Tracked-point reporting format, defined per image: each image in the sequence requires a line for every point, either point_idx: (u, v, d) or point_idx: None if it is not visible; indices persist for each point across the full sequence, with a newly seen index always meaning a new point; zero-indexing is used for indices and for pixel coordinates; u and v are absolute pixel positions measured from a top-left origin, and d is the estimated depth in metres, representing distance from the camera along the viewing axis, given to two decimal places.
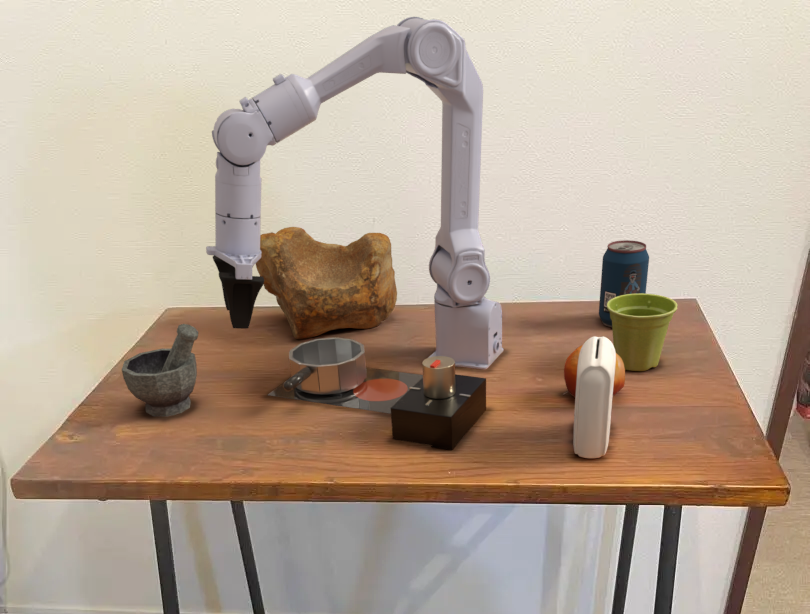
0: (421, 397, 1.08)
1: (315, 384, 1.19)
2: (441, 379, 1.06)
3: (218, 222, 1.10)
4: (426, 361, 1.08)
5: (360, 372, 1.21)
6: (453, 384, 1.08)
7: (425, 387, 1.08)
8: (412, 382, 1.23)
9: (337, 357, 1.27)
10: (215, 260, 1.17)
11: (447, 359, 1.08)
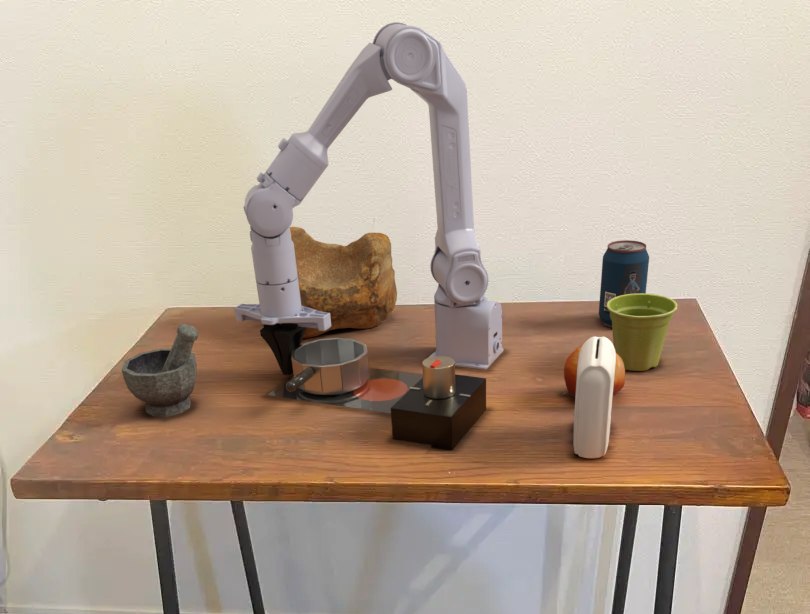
0: (421, 397, 1.08)
1: (318, 385, 1.19)
2: (441, 379, 1.06)
3: (275, 292, 1.17)
4: (426, 361, 1.08)
5: (362, 373, 1.21)
6: (453, 384, 1.08)
7: (425, 387, 1.08)
8: (412, 382, 1.23)
9: (340, 357, 1.27)
10: (272, 333, 1.21)
11: (447, 359, 1.08)
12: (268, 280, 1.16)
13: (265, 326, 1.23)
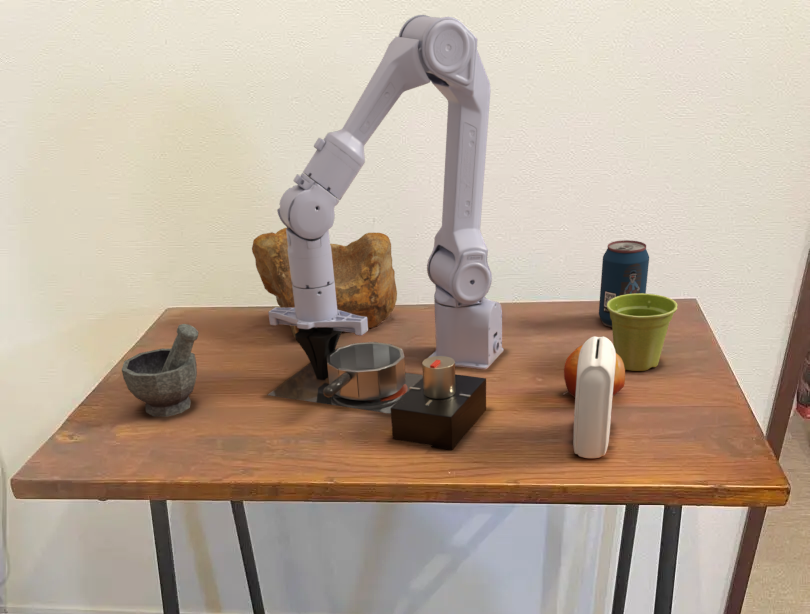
0: (421, 397, 1.08)
1: (354, 390, 1.17)
2: (441, 379, 1.06)
3: (312, 295, 1.15)
4: (426, 361, 1.08)
5: (399, 378, 1.18)
6: (453, 384, 1.08)
7: (425, 387, 1.08)
8: (412, 382, 1.23)
9: (374, 362, 1.25)
10: (308, 338, 1.19)
11: (447, 359, 1.08)
12: (308, 283, 1.14)
13: (300, 330, 1.20)
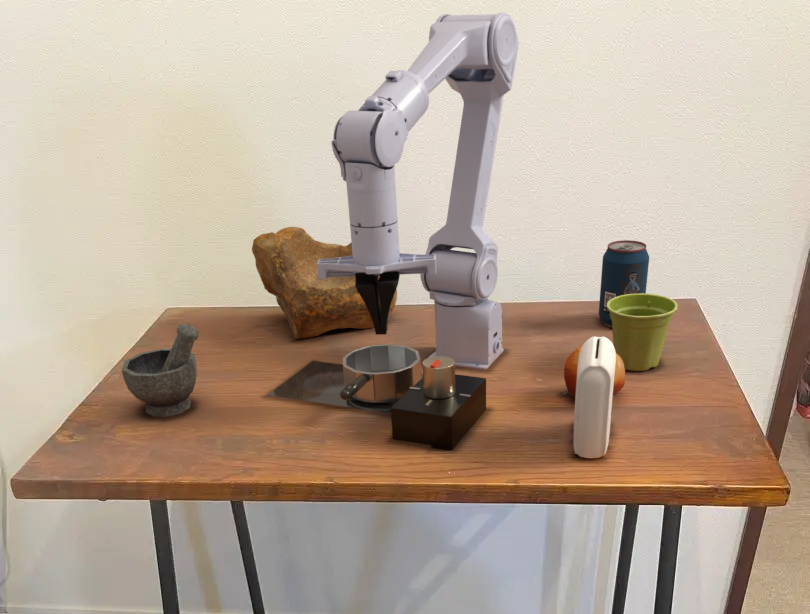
0: (421, 397, 1.08)
1: (370, 393, 1.16)
2: (441, 379, 1.06)
3: (382, 234, 1.02)
4: (426, 361, 1.08)
5: (415, 380, 1.17)
6: (453, 384, 1.08)
7: (425, 387, 1.08)
8: None
9: (389, 364, 1.24)
10: (373, 286, 1.06)
11: (447, 359, 1.08)
12: (385, 220, 1.02)
13: (358, 279, 1.07)
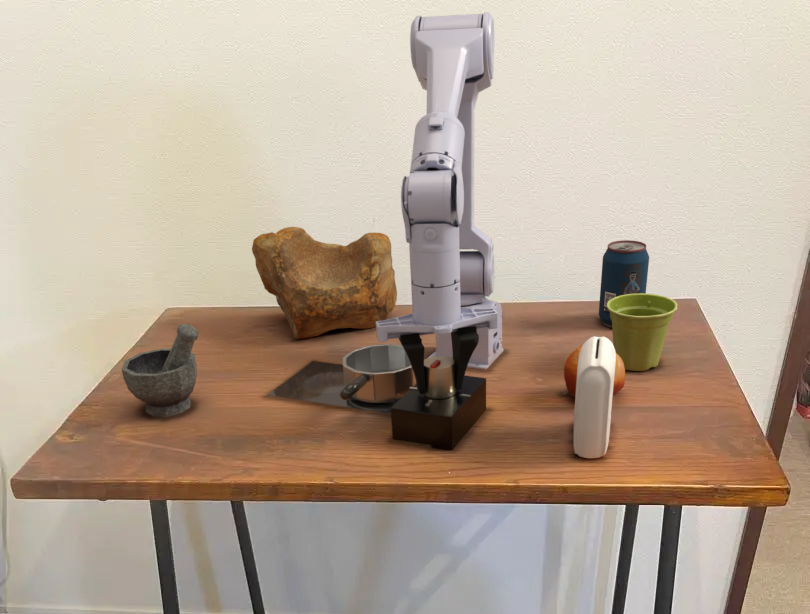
0: (421, 397, 1.08)
1: (370, 393, 1.16)
2: (441, 379, 1.06)
3: (450, 293, 1.00)
4: (426, 361, 1.08)
5: (415, 380, 1.17)
6: (453, 384, 1.08)
7: None
8: None
9: (389, 364, 1.24)
10: (423, 347, 1.03)
11: (447, 359, 1.08)
12: (456, 277, 1.00)
13: (404, 341, 1.04)
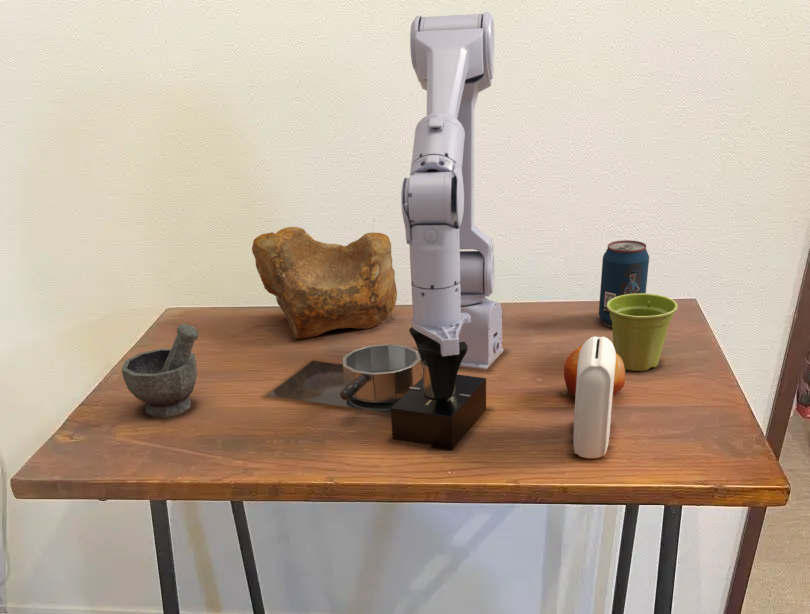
0: (421, 397, 1.08)
1: (370, 393, 1.16)
2: None
3: None
4: None
5: (415, 380, 1.17)
6: None
7: None
8: None
9: (389, 364, 1.24)
10: None
11: None
12: (456, 279, 1.00)
13: None
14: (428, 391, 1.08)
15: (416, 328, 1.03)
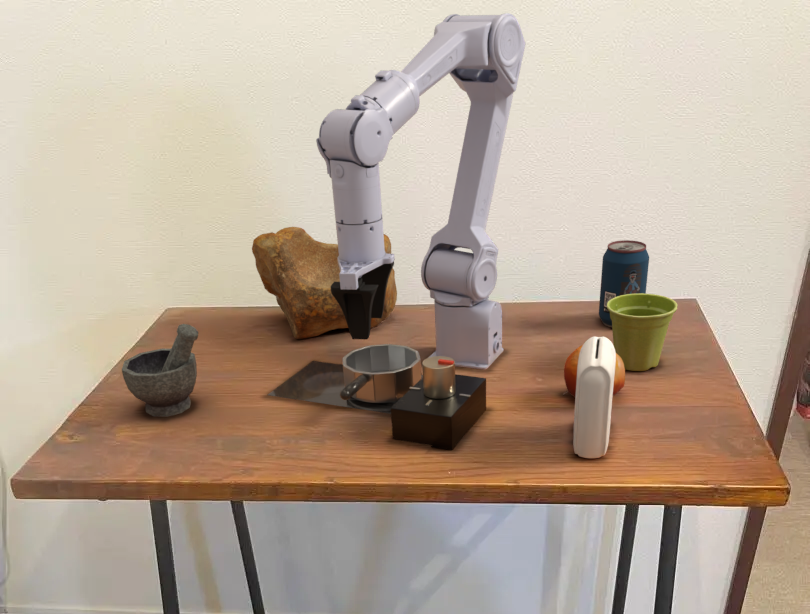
0: (421, 397, 1.08)
1: (370, 393, 1.16)
2: None
3: None
4: (434, 367, 1.06)
5: (415, 380, 1.17)
6: None
7: (446, 390, 1.07)
8: None
9: (389, 364, 1.24)
10: None
11: (432, 358, 1.08)
12: (366, 218, 1.03)
13: (360, 287, 1.04)
14: (428, 391, 1.08)
15: None
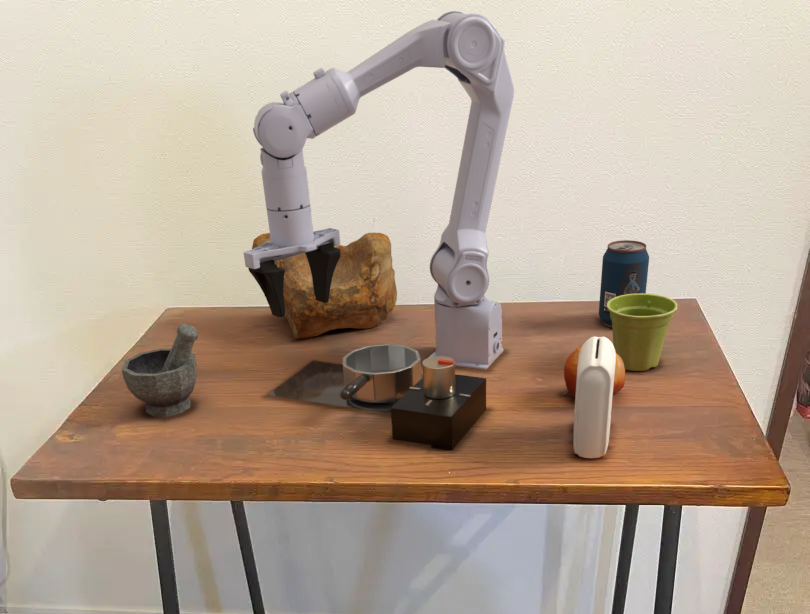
0: (421, 397, 1.08)
1: (370, 393, 1.16)
2: None
3: (308, 214, 1.13)
4: (434, 367, 1.06)
5: (415, 380, 1.17)
6: None
7: (446, 390, 1.07)
8: None
9: (389, 364, 1.24)
10: None
11: (432, 358, 1.08)
12: (280, 206, 1.11)
13: (263, 268, 1.13)
14: (428, 391, 1.08)
15: None
